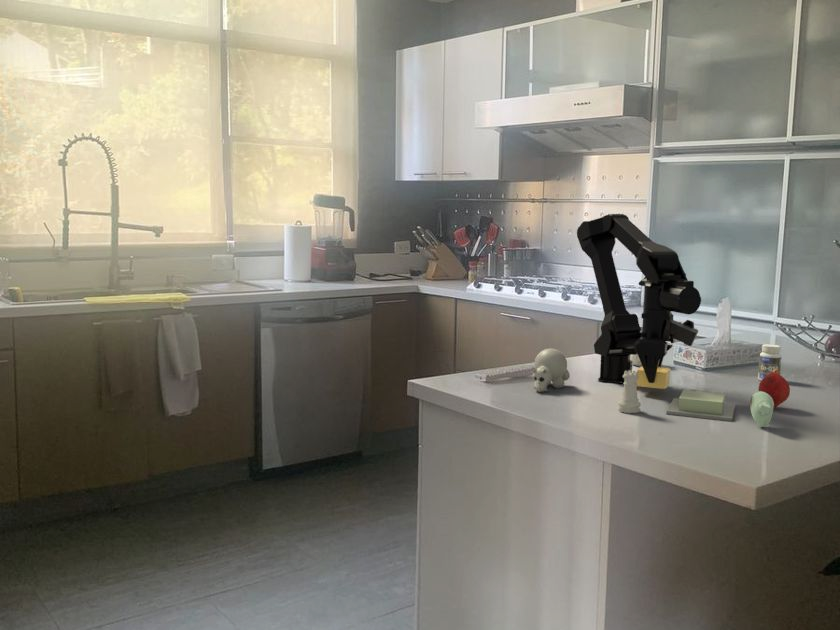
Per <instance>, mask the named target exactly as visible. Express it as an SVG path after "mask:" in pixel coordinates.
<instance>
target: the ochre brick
mask: <svg viewBox="0 0 840 630" xmlns="http://www.w3.org/2000/svg"><path fill="white" fill-rule="evenodd" d="M636 372H638V376H639V378H638V380H637V384H638V385H637V387H643V388H651V389H652V388H653V389H661V390H666V389H667V387H669V385H670V384H671V383H670V381H671V367H666V366H665V367H664V366H661V367H658V369H657V373H656V377H655V381H654V383H649V382H648V379H647V377H646V374H645V371H644V369H643V366H641V367H638V369H637V371H636Z"/></svg>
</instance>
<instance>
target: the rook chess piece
mask: <svg viewBox="0 0 840 630" xmlns="http://www.w3.org/2000/svg"><path fill="white" fill-rule="evenodd" d="M623 378H624V380H625V381H624V383H622V384H623V392H622V397H620V400H619V401H618V403H617V404H618V405H619V406H618V407H617V409H618V411H619V412H620V411H621V413H622V412H624V414H628V413H633V414H632V415H635V414H634V413H636V414H639V413H640V411H642V409H641V408H640V407H641V406H642V405H641V402H640V401H639V398H638V386H637V385H638V384H637V380H638V378H639V376H638V372H637V371H636V370H632V373H631V370H628V372H627V371H625V372H624V375H623Z"/></svg>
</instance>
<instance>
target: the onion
mask: <svg viewBox="0 0 840 630" xmlns="http://www.w3.org/2000/svg"><path fill="white" fill-rule="evenodd" d="M779 372H780V374H779ZM757 390H758V391H762V392H765V393H767V394H768V395H770V396H771V397H772V399H773V402H774V408H773V409H776V408H777V407H779V406H780V405H781V404H783V403H784V402H786V400H788V398H789V397H790V394H791V388H790V385H789V383H788V381H787V380H786V379H785V377H783V376H782V375H781V370H780V371H779V370H778V369H775V370H774V371H772V373H771V374H769V375H767V376H766V377H765V378H763V379H762V381H761V380H760V382H759V383H758V389H757Z"/></svg>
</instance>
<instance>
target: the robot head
mask: <svg viewBox="0 0 840 630" xmlns="http://www.w3.org/2000/svg"><path fill="white" fill-rule="evenodd" d="M749 406H750V414H751V416H752V418H753V421H754V422H755V423H756V424H757V426H759V427H760V428H765V427H767V425H768V424H770V421H771V420H772V416H773V412H774V409H775V408H774V402H773V399H772V397H771V396H770V395H768V394H767V393H765V392H762V391H759V390H758V391H756V392H755V393H753V394H752V395H751V397H750V399H749Z"/></svg>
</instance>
